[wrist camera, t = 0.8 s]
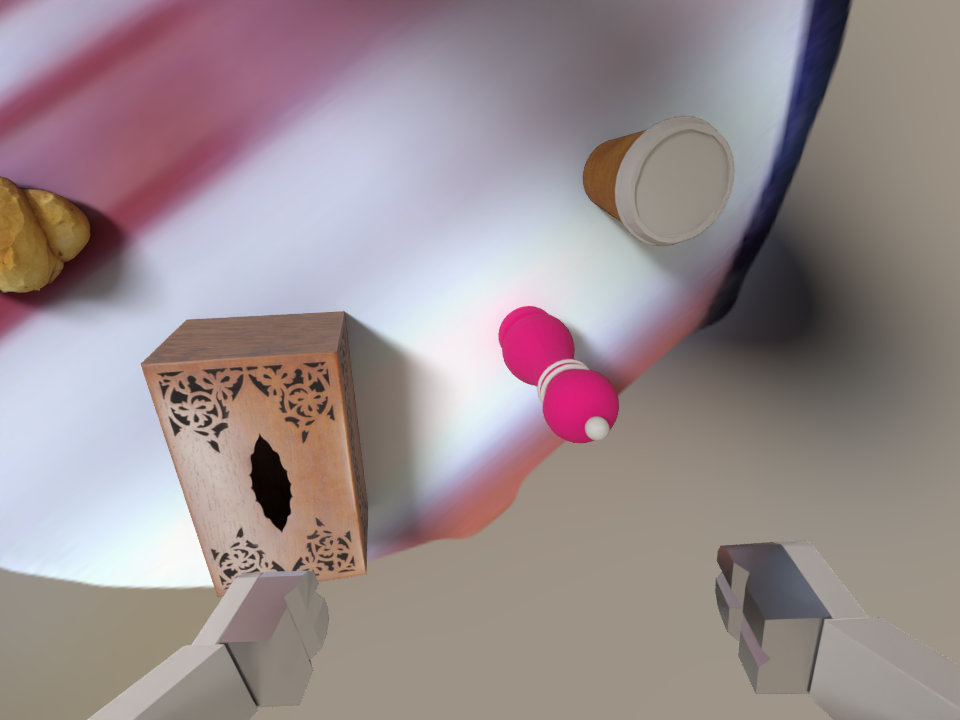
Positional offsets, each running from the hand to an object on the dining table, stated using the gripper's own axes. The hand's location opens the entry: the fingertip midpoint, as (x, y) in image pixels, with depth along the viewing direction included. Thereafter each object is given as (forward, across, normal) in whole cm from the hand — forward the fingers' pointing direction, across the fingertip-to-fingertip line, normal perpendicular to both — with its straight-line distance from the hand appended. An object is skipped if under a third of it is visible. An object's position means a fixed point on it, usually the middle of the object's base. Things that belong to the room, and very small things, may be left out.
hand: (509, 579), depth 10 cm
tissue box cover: (+36, +26, +16) cm, 47 cm away
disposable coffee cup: (+44, -10, -5) cm, 45 cm away
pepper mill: (+42, 0, +10) cm, 43 cm away
